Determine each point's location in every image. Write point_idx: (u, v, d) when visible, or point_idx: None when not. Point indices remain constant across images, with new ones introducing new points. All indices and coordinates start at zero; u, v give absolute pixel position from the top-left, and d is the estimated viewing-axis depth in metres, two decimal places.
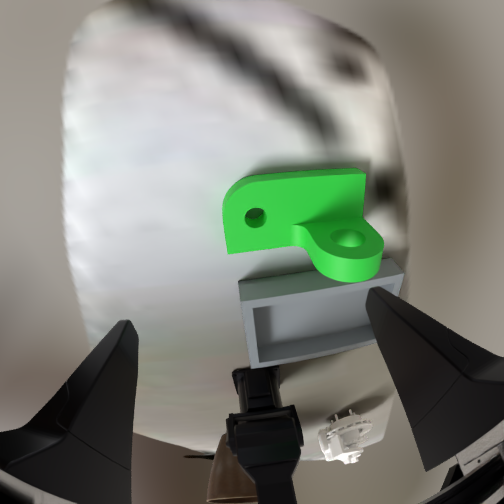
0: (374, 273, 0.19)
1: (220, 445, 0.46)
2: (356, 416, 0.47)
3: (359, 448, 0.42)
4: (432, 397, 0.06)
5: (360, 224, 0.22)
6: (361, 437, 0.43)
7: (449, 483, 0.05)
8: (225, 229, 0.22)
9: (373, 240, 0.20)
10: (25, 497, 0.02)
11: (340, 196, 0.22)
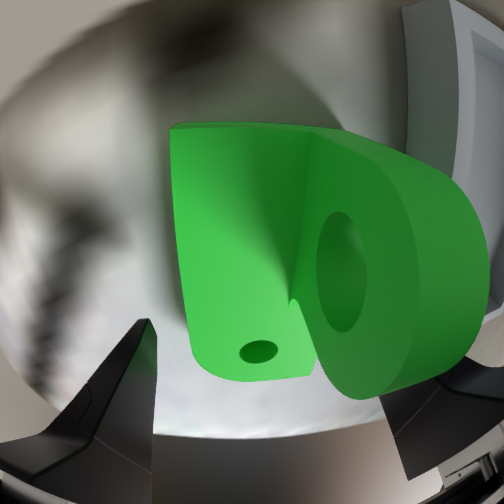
0: (482, 293, 0.04)
1: None
2: None
3: None
4: (413, 406, 0.06)
5: (323, 166, 0.07)
6: None
7: None
8: (268, 379, 0.14)
9: (374, 220, 0.05)
10: None
11: (235, 204, 0.08)
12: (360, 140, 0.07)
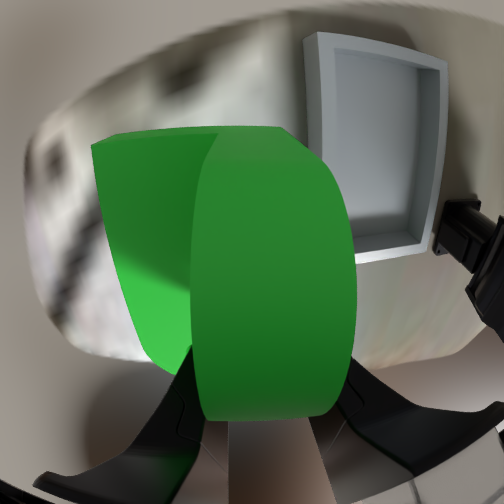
0: (337, 332, 0.03)
1: None
2: None
3: None
4: None
5: None
6: None
7: None
8: None
9: None
10: None
11: (152, 210, 0.08)
12: (266, 136, 0.07)
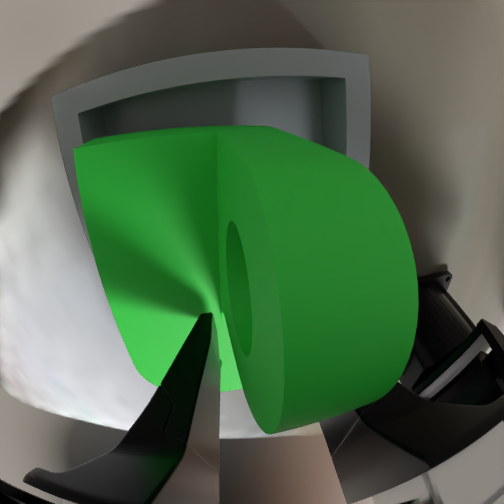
0: (406, 317, 0.03)
1: None
2: None
3: None
4: (343, 431, 0.06)
5: (223, 169, 0.06)
6: None
7: None
8: None
9: (249, 231, 0.04)
10: None
11: (144, 218, 0.07)
12: (270, 135, 0.06)
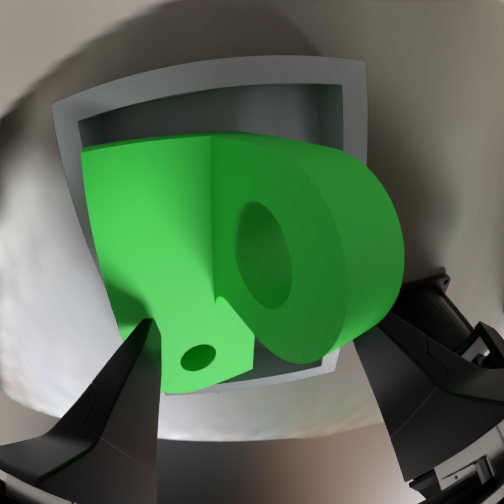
0: (397, 239, 0.05)
1: None
2: None
3: None
4: (410, 408, 0.06)
5: (227, 164, 0.07)
6: None
7: None
8: (214, 383, 0.13)
9: (286, 199, 0.06)
10: None
11: (148, 216, 0.08)
12: (256, 136, 0.08)
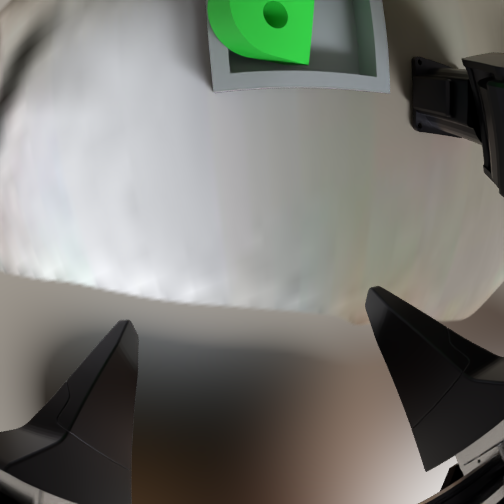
0: None
1: None
2: None
3: None
4: (432, 397, 0.06)
5: None
6: None
7: (449, 483, 0.05)
8: (281, 55, 0.12)
9: None
10: (25, 497, 0.02)
11: None
12: None
